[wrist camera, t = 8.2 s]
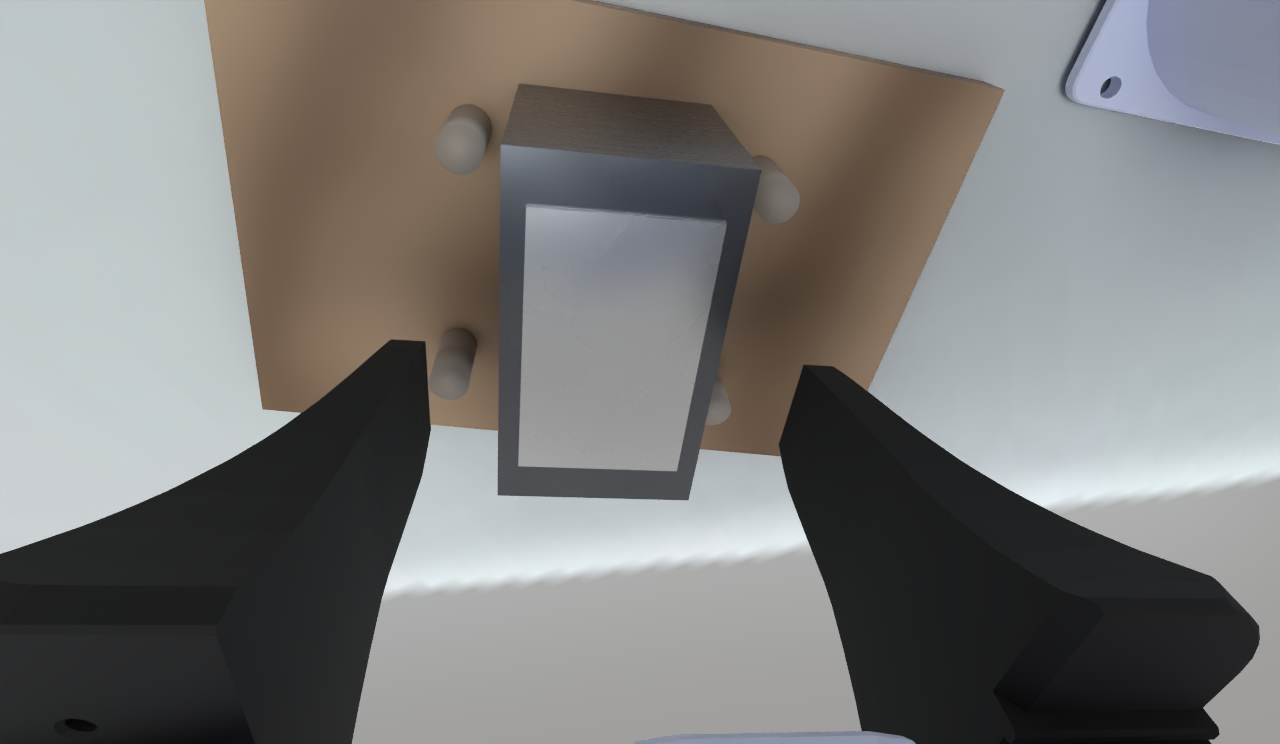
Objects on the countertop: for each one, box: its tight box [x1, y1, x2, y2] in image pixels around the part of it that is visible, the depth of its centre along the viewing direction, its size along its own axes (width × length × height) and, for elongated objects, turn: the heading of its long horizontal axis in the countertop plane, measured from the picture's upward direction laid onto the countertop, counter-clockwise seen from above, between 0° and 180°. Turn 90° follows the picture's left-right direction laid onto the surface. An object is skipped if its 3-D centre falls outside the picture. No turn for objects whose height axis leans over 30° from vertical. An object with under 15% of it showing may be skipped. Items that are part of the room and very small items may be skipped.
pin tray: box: [204, 0, 1005, 456], centre depth 18 cm, size 18×12×3 cm, turn 79°
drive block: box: [498, 83, 762, 500], centre depth 16 cm, size 4×8×5 cm, turn 173°
